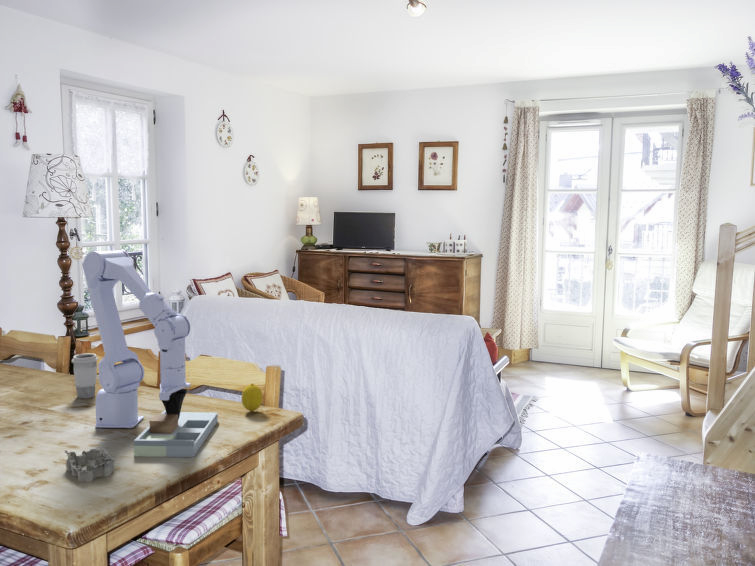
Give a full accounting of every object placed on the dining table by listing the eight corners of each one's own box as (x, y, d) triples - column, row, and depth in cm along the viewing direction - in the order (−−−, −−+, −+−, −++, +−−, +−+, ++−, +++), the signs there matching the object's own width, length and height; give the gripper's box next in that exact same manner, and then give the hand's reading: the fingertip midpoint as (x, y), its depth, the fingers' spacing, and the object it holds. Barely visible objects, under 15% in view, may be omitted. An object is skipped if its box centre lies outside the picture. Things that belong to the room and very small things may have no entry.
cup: (91, 391, 179) (90, 351, 178) (104, 395, 175) (103, 355, 174) (67, 396, 173) (66, 356, 172) (80, 401, 169) (78, 359, 168)
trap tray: (134, 456, 133) (133, 440, 132) (167, 420, 155) (166, 407, 155) (193, 456, 133) (193, 441, 133) (217, 421, 156) (217, 408, 155)
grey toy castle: (63, 468, 126) (62, 449, 126) (100, 459, 131) (100, 441, 131) (78, 485, 118) (77, 465, 118) (117, 475, 123) (117, 456, 123)
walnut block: (149, 433, 140) (149, 420, 139) (157, 426, 145) (157, 413, 144) (171, 433, 140) (171, 421, 140) (178, 426, 145) (177, 414, 145)
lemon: (257, 416, 161) (257, 387, 160) (238, 414, 162) (238, 385, 161) (265, 409, 166) (265, 381, 165) (246, 408, 167) (246, 380, 166)
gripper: (181, 373, 137) (181, 431, 139) (197, 358, 152) (198, 410, 153) (149, 373, 137) (150, 430, 139) (169, 358, 152) (170, 410, 153)
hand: (173, 420), depth 146 cm, fingers closed
